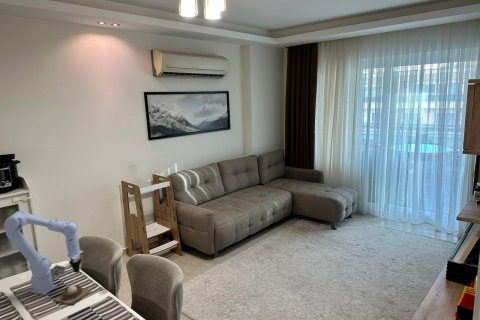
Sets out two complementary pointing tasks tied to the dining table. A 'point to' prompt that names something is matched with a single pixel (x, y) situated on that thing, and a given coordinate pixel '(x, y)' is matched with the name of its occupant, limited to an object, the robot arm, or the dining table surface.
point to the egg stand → (72, 296)
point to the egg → (72, 289)
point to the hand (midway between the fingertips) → (76, 268)
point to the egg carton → (57, 271)
